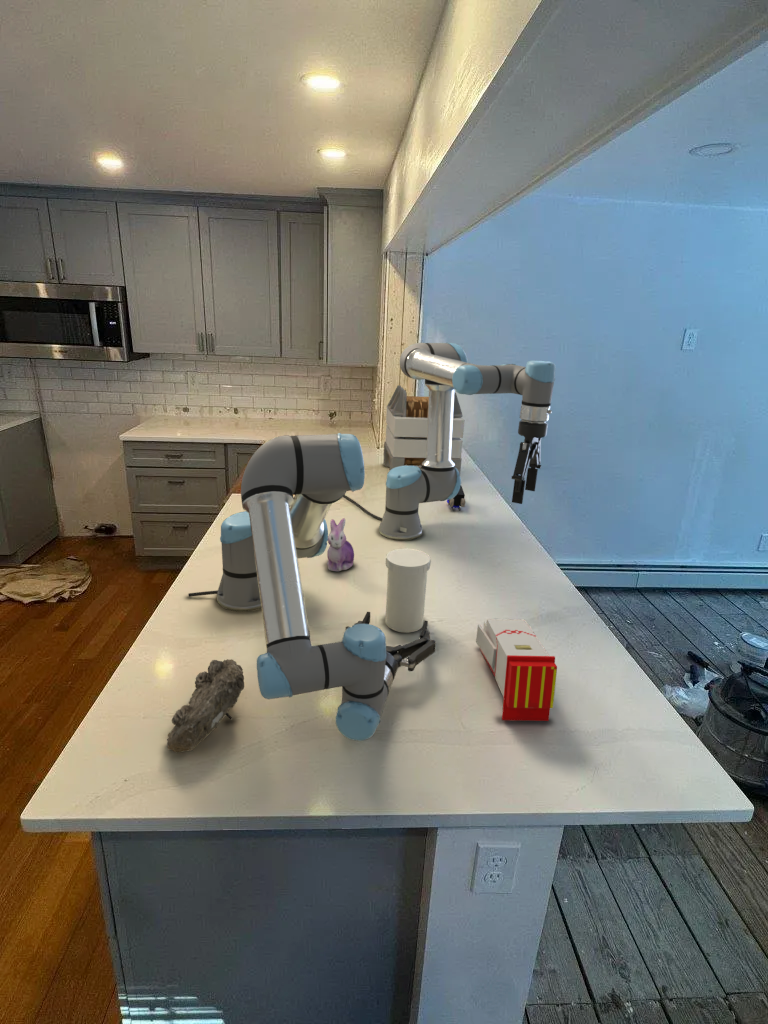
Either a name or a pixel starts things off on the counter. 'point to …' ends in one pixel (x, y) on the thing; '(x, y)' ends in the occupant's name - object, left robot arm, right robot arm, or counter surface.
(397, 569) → the lid
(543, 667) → the toy
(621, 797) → the counter surface
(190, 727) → the fossil
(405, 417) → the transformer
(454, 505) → the figurine character
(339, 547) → the figurine
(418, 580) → the jar
